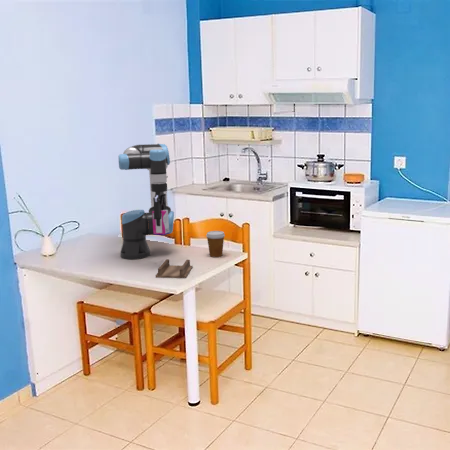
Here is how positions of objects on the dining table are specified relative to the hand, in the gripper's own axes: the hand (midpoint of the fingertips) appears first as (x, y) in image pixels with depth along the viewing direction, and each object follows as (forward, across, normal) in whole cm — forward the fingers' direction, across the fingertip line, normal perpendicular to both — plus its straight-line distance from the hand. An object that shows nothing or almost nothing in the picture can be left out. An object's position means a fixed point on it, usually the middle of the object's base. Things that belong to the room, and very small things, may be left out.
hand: (161, 230), depth 268 cm
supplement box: (+2, 0, 0) cm, 2 cm away
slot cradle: (+18, -9, -8) cm, 21 cm away
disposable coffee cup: (+17, +21, -22) cm, 35 cm away
